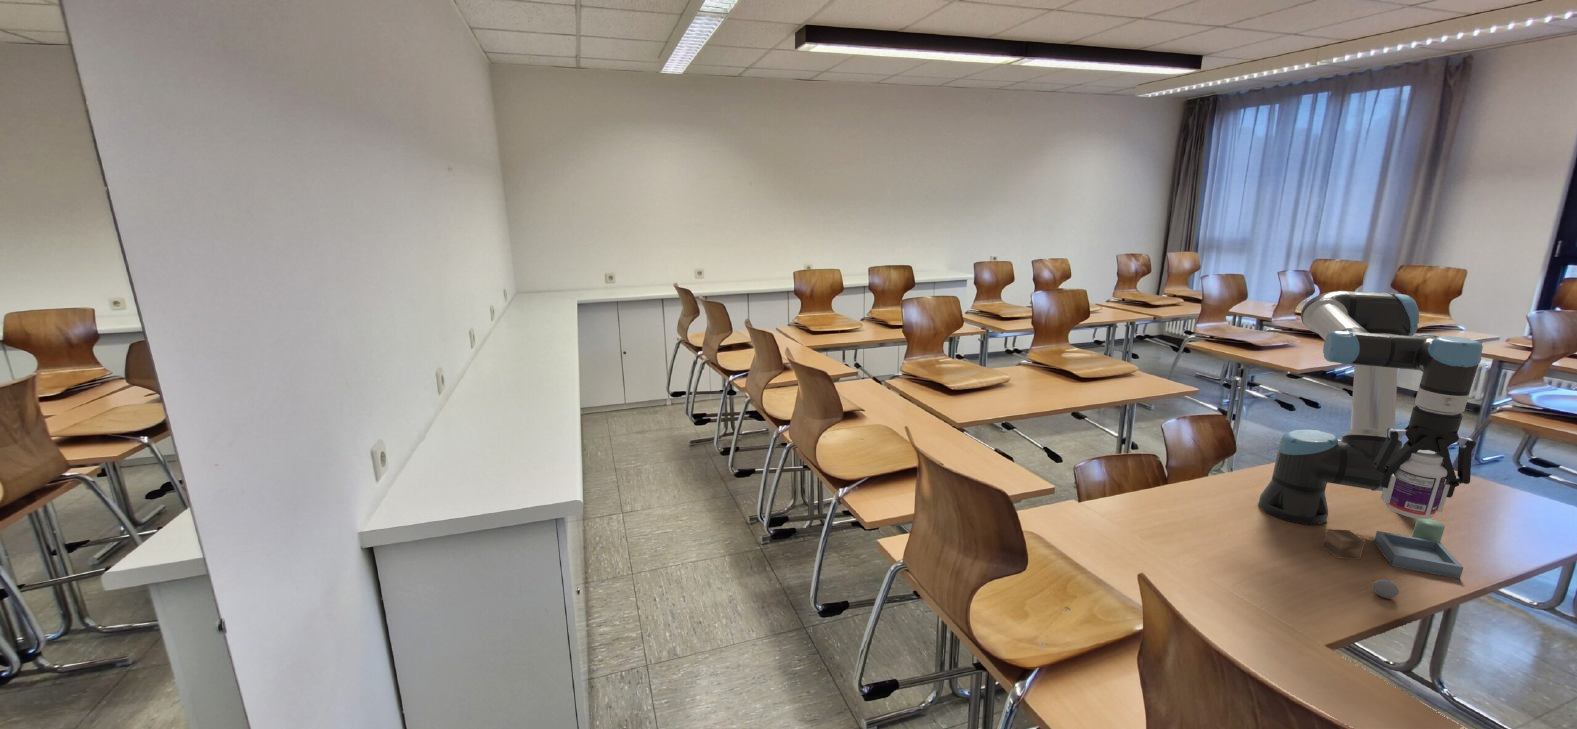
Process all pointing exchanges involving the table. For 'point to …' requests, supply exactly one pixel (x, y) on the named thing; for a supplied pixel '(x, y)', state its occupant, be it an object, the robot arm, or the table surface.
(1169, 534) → the table surface
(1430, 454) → the pill bottle
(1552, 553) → the table surface
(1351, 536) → the walnut block
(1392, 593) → the grey ball
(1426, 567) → the tray
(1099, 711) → the table surface
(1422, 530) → the green cylinder
